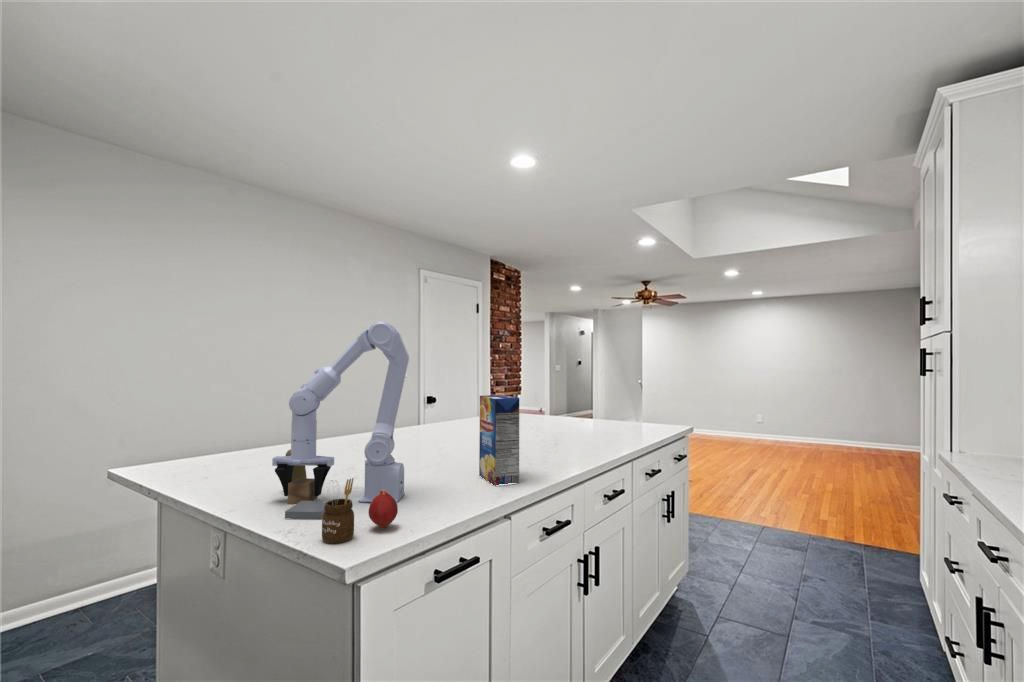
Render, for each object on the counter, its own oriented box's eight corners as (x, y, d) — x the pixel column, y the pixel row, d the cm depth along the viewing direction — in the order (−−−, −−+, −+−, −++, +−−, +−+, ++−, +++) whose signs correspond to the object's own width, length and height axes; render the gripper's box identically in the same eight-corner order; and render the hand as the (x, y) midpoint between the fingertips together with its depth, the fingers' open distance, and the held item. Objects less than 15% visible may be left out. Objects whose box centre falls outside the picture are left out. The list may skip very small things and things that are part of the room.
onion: (371, 523, 102) (372, 485, 103) (399, 523, 103) (399, 485, 103) (365, 533, 97) (366, 493, 97) (395, 532, 97) (395, 492, 97)
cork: (298, 494, 124) (299, 451, 124) (277, 493, 125) (278, 450, 125) (312, 488, 130) (313, 447, 130) (292, 487, 131) (293, 446, 131)
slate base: (335, 507, 113) (335, 500, 113) (321, 519, 105) (321, 511, 105) (301, 507, 113) (301, 500, 113) (284, 518, 105) (284, 511, 105)
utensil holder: (339, 531, 98) (340, 471, 98) (361, 537, 95) (362, 475, 95) (314, 540, 93) (315, 477, 93) (337, 547, 90) (338, 482, 90)
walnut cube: (317, 498, 121) (317, 478, 121) (308, 504, 116) (308, 483, 116) (297, 498, 121) (297, 478, 121) (287, 504, 116) (288, 483, 116)
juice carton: (479, 476, 143) (479, 395, 144) (502, 474, 146) (502, 394, 147) (494, 486, 132) (495, 398, 133) (519, 483, 135) (519, 398, 136)
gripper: (266, 442, 115) (264, 499, 114) (326, 442, 115) (325, 500, 114) (280, 437, 122) (279, 491, 121) (337, 437, 122) (336, 492, 121)
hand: (302, 495), depth 118 cm, fingers open, 7 cm apart
